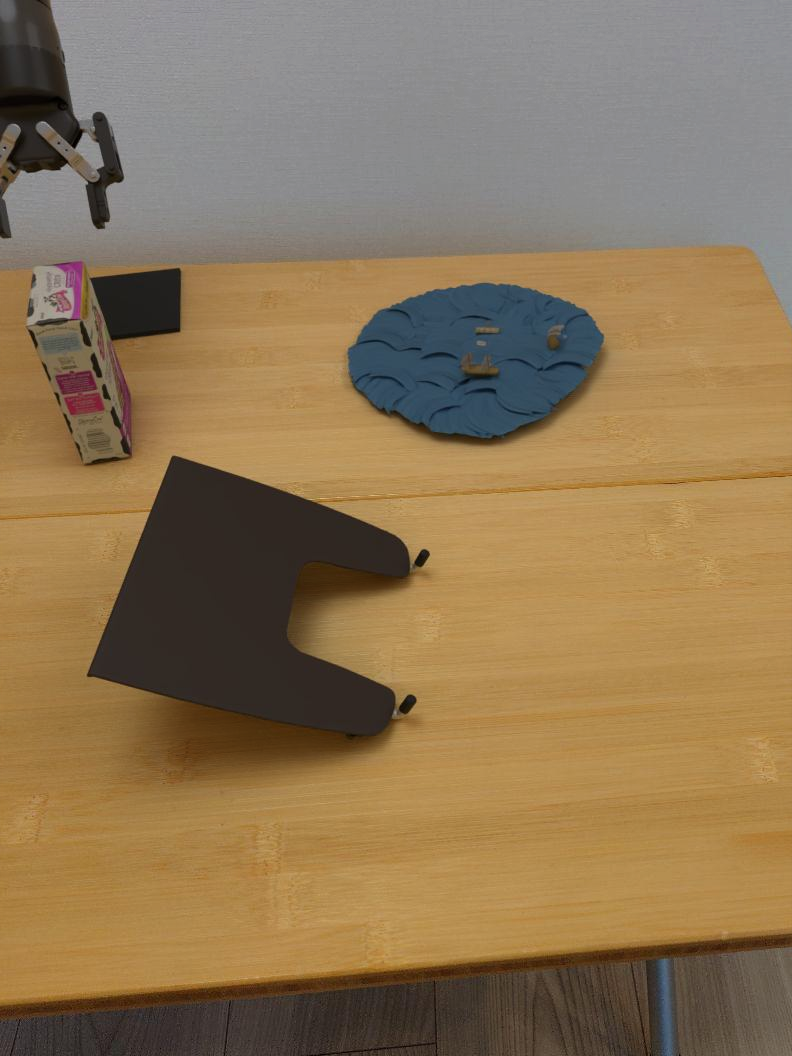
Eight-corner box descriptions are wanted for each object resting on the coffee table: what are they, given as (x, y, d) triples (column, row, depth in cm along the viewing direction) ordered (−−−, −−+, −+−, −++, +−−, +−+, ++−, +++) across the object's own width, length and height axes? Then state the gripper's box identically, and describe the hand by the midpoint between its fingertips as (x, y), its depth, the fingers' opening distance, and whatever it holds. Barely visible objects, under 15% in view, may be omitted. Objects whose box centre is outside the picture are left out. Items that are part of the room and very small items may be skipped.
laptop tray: (371, 796, 77) (413, 741, 71) (71, 727, 69) (91, 658, 63) (396, 583, 93) (433, 523, 87) (155, 507, 85) (178, 436, 79)
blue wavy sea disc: (348, 464, 98) (338, 425, 94) (350, 304, 118) (343, 267, 115) (629, 435, 100) (631, 395, 96) (584, 282, 120) (584, 245, 117)
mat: (72, 344, 110) (71, 340, 110) (82, 283, 119) (80, 278, 119) (180, 331, 112) (178, 327, 112) (181, 271, 122) (179, 267, 121)
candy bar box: (135, 458, 96) (82, 318, 85) (83, 467, 95) (22, 327, 83) (134, 393, 104) (84, 257, 92) (85, 401, 103) (29, 264, 91)
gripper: (-79, 47, 85) (-45, 227, 86) (89, 35, 88) (121, 210, 88) (-44, 86, 92) (-13, 251, 93) (110, 74, 95) (139, 235, 96)
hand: (52, 231), depth 91 cm, fingers open, 8 cm apart
